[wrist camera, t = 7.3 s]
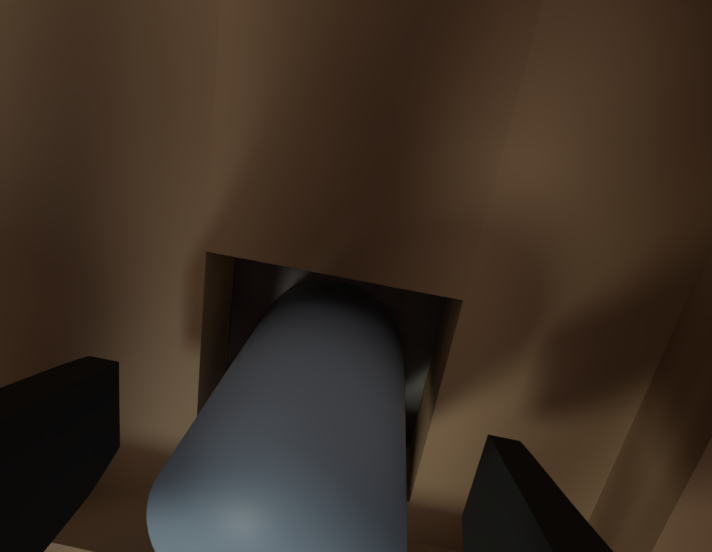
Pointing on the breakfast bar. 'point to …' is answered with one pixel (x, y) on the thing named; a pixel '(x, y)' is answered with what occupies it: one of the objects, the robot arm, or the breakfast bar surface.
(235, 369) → the peg
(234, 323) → the breakfast bar surface
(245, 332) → the breakfast bar surface
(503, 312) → the box with square hole
